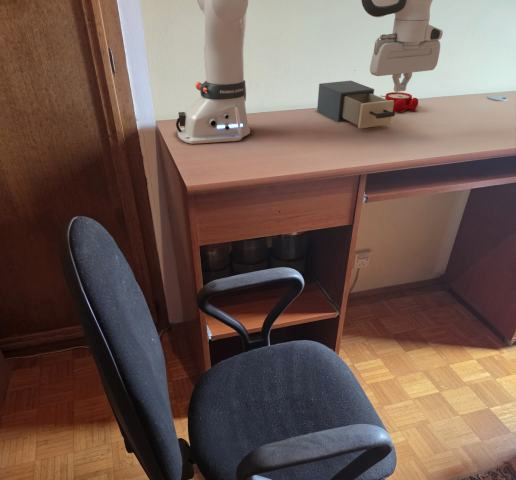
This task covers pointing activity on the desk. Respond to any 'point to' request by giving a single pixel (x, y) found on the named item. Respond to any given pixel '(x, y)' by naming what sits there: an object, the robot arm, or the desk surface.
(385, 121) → the drawer
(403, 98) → the alarm clock
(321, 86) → the cabinet
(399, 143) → the desk surface
